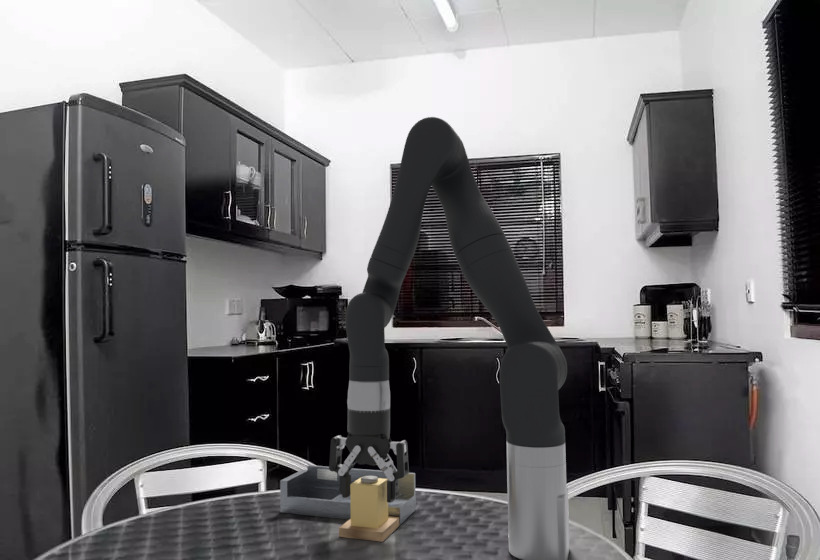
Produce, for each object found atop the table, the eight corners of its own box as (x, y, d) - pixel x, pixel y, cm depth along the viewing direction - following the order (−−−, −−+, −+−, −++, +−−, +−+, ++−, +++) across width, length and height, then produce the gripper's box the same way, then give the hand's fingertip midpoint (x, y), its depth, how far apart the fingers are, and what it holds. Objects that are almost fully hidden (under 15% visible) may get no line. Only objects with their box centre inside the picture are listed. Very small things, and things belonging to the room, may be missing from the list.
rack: (415, 510, 117) (415, 473, 117) (400, 524, 109) (399, 485, 109) (302, 499, 125) (302, 464, 125) (280, 512, 117) (280, 475, 117)
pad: (399, 525, 108) (399, 517, 108) (382, 541, 101) (382, 532, 101) (358, 521, 111) (358, 513, 111) (339, 536, 103) (339, 527, 103)
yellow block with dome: (388, 519, 107) (387, 475, 108) (377, 528, 103) (377, 482, 103) (362, 516, 109) (361, 473, 109) (350, 525, 104) (350, 480, 105)
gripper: (413, 404, 108) (413, 497, 108) (341, 400, 113) (341, 489, 112) (399, 411, 101) (398, 510, 101) (323, 406, 106) (321, 500, 105)
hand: (368, 498), depth 106 cm, fingers open, 8 cm apart
